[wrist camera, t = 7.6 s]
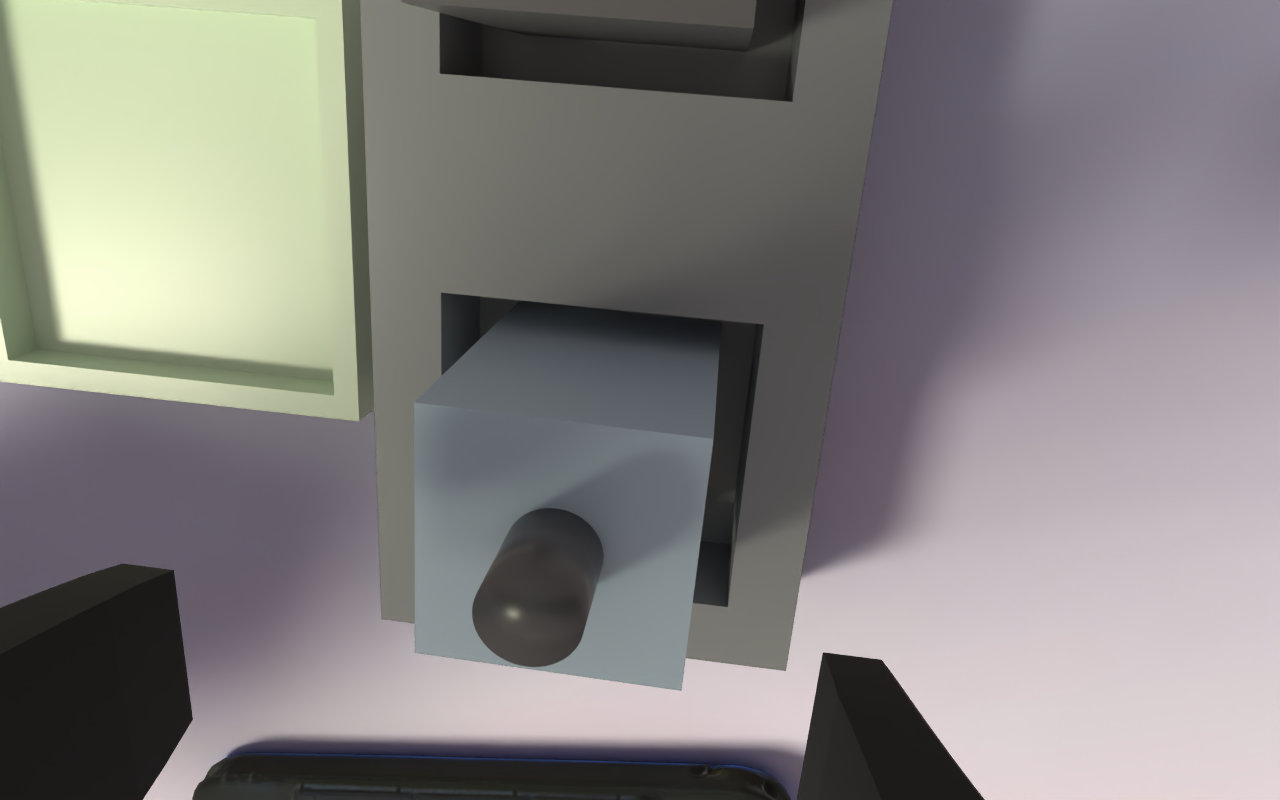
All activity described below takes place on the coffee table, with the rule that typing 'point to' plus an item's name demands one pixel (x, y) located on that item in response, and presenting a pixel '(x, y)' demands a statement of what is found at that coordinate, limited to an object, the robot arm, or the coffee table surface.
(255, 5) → the tray
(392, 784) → the handheld game console
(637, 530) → the plug
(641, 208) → the power strip
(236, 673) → the coffee table surface
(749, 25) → the twin plug
